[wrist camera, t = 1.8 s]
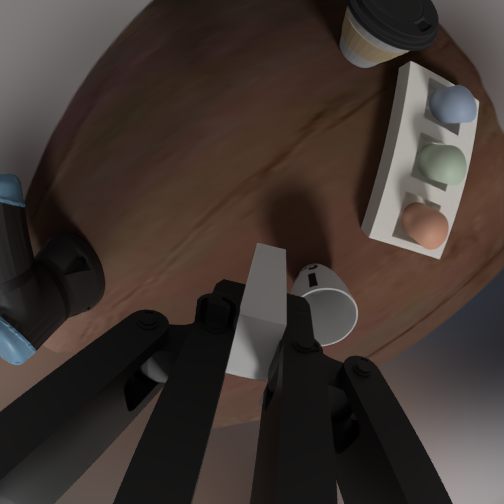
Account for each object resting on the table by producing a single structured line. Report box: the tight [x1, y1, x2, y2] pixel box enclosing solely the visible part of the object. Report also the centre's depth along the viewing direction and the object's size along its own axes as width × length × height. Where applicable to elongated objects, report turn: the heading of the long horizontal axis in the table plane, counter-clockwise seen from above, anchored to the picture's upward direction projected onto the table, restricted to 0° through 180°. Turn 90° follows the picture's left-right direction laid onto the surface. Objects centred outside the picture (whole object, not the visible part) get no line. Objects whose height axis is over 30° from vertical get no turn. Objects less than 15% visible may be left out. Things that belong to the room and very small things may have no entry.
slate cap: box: [429, 85, 477, 124], centre depth 23 cm, size 5×5×5 cm
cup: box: [291, 264, 358, 346], centre depth 34 cm, size 8×8×10 cm
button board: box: [361, 61, 479, 259], centre depth 29 cm, size 12×24×4 cm, turn 168°
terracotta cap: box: [401, 202, 449, 250], centre depth 29 cm, size 5×5×5 cm
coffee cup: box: [340, 0, 439, 68], centre depth 20 cm, size 9×9×15 cm
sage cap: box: [418, 144, 467, 185], centre depth 26 cm, size 5×5×5 cm
